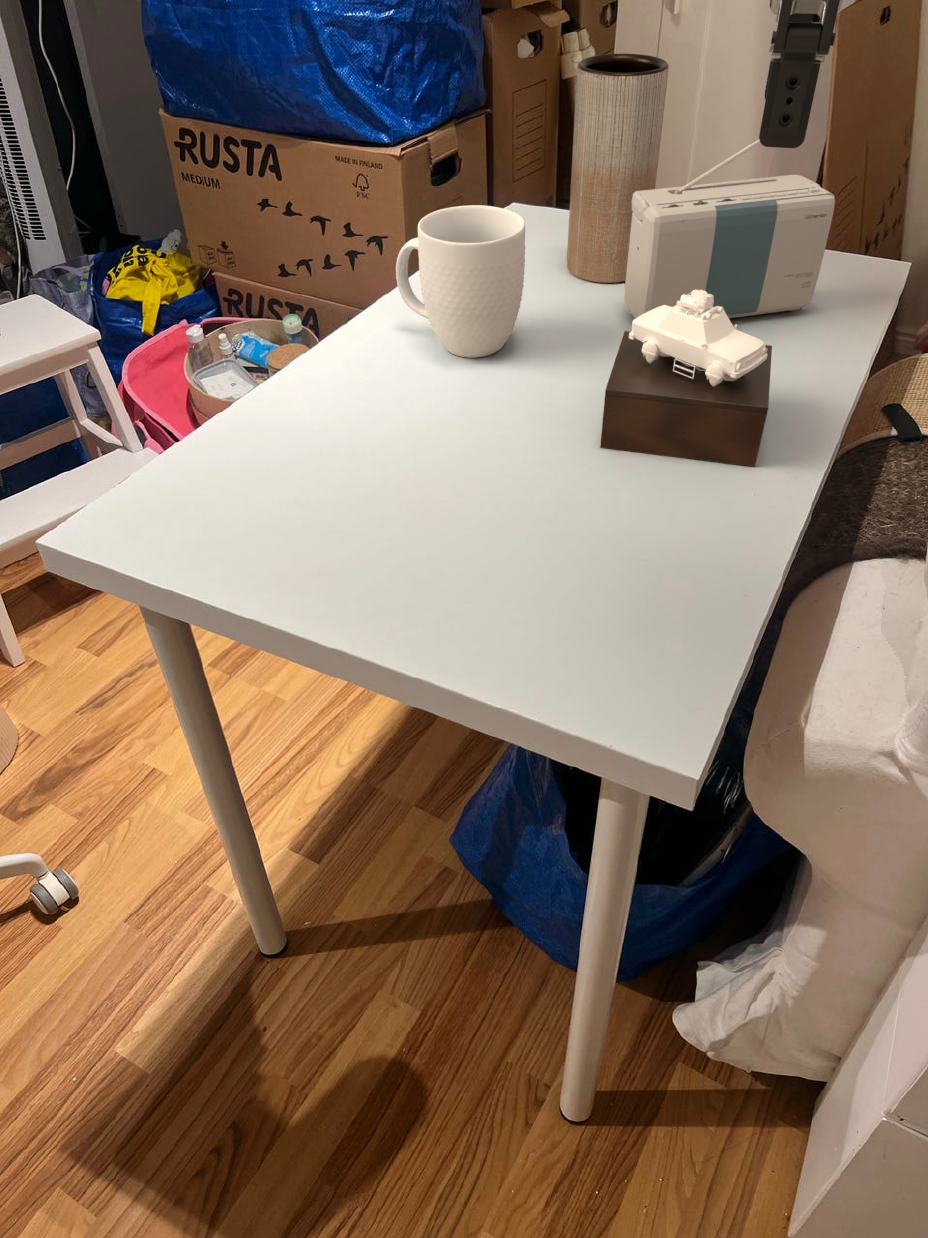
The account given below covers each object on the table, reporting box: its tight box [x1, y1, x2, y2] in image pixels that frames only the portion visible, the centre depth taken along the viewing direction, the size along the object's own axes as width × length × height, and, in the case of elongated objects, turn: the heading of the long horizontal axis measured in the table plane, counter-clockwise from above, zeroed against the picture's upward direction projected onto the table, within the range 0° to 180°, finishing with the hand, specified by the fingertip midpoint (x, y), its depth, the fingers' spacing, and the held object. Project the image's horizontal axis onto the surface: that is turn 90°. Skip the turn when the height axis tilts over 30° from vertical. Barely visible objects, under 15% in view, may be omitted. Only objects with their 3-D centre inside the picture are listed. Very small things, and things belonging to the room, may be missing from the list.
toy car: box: [629, 289, 768, 387], centre depth 81 cm, size 6×12×7 cm, turn 45°
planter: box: [566, 53, 670, 284], centre depth 108 cm, size 10×10×23 cm
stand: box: [599, 330, 773, 468], centre depth 86 cm, size 14×12×6 cm
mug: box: [395, 204, 526, 359], centre depth 97 cm, size 15×11×13 cm
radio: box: [623, 139, 836, 319], centre depth 99 cm, size 21×8×20 cm, turn 104°
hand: (781, 122), depth 49 cm, fingers open, 8 cm apart
